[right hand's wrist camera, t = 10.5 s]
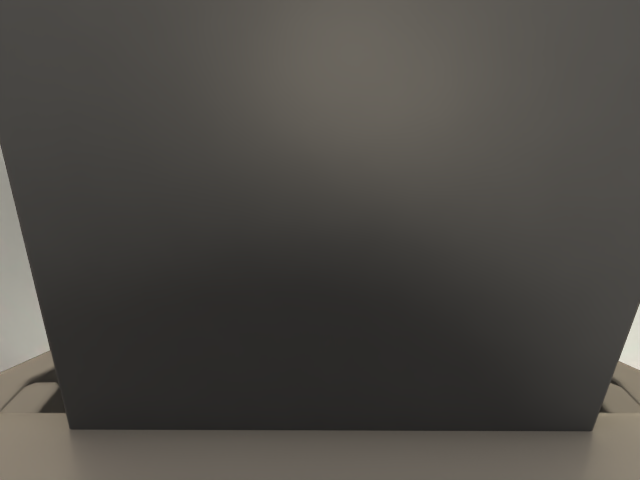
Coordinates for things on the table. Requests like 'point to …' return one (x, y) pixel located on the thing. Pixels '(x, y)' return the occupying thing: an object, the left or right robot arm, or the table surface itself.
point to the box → (328, 208)
